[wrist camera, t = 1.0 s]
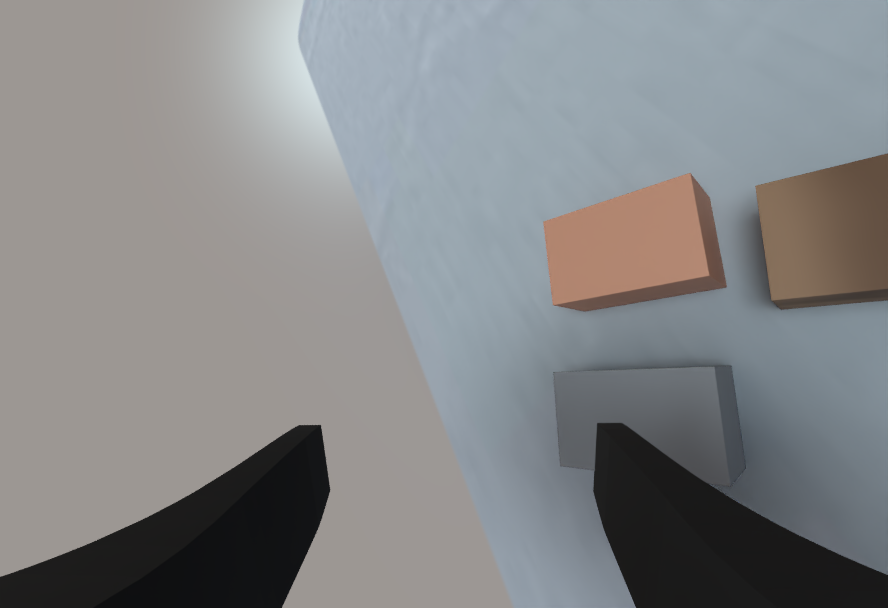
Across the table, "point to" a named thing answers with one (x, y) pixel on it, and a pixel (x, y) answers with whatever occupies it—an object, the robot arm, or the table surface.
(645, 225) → the terracotta block
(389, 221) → the table surface
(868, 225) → the walnut block
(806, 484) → the table surface
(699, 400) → the grey block
